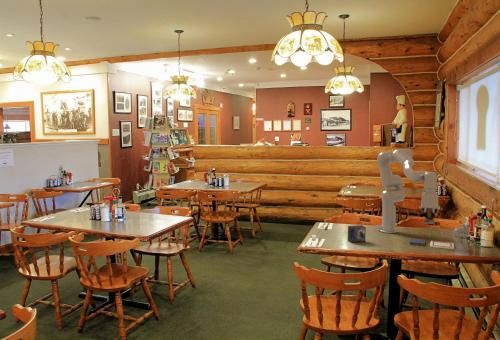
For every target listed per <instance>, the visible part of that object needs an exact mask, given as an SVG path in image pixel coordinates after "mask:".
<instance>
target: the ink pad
mask: <svg viewBox="0 0 500 340" xmlns="http://www.w3.org/2000/svg"><path fill="white" fill-rule="evenodd" d="M425 243H426V239H420V238H410V241H409V245H411V246H412V245H413V246H420V247H425Z"/></svg>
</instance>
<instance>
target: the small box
mask: <svg viewBox="0 0 500 340" xmlns="http://www.w3.org/2000/svg"><path fill="white" fill-rule="evenodd" d="M366 229H367V228H366V226H365V225H361V224H360V225H348V226H347V242H349V243H350V244H351V243H353V244H355V243H356V244H357V243H366V233H367V232H366V231H367V230H366Z"/></svg>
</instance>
